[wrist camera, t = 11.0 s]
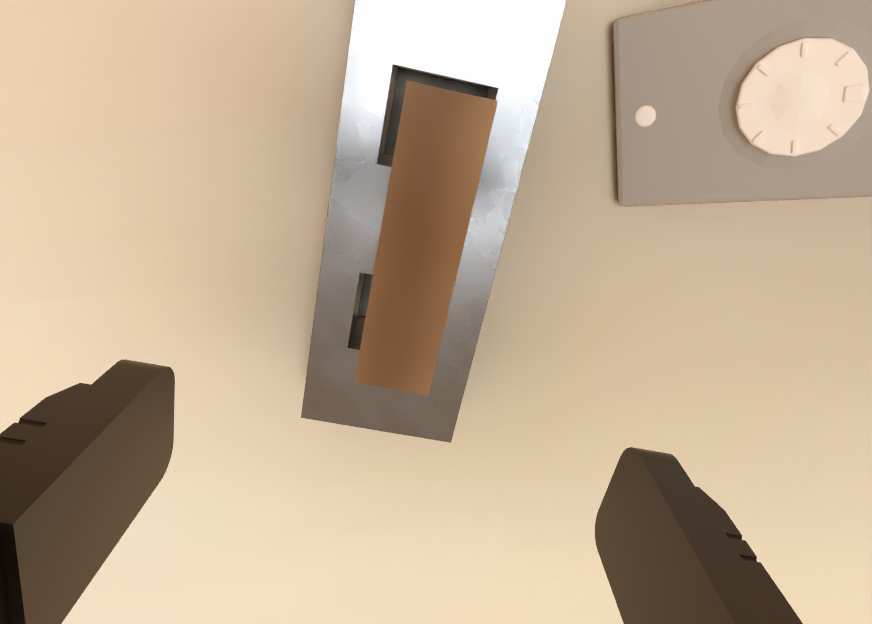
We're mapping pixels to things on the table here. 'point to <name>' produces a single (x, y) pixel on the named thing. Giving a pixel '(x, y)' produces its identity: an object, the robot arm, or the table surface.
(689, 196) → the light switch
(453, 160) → the brown u-shaped block
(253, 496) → the table surface
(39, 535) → the robot arm
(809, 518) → the table surface
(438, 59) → the grey slotted holder
